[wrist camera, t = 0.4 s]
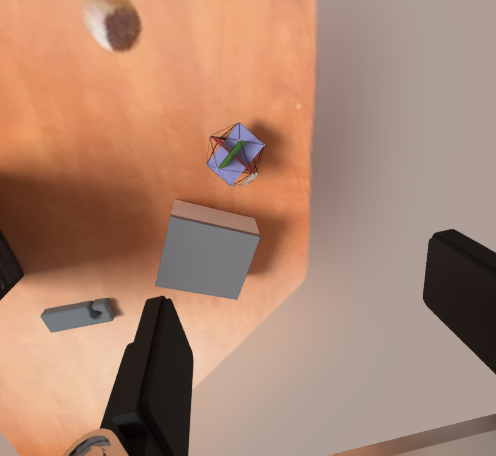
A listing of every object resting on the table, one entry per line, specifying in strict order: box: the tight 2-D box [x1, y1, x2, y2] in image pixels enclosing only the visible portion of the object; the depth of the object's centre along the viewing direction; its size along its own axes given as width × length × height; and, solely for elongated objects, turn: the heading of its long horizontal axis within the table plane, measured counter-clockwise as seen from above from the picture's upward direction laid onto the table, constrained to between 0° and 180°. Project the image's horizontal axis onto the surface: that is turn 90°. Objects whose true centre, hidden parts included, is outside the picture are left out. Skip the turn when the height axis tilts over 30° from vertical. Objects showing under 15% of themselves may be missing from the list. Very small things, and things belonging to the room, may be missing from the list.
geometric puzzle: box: [206, 122, 265, 187], centre depth 36 cm, size 7×7×8 cm
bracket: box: [40, 298, 115, 332], centre depth 48 cm, size 4×10×2 cm, turn 98°
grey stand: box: [155, 199, 260, 300], centre depth 42 cm, size 11×12×6 cm
